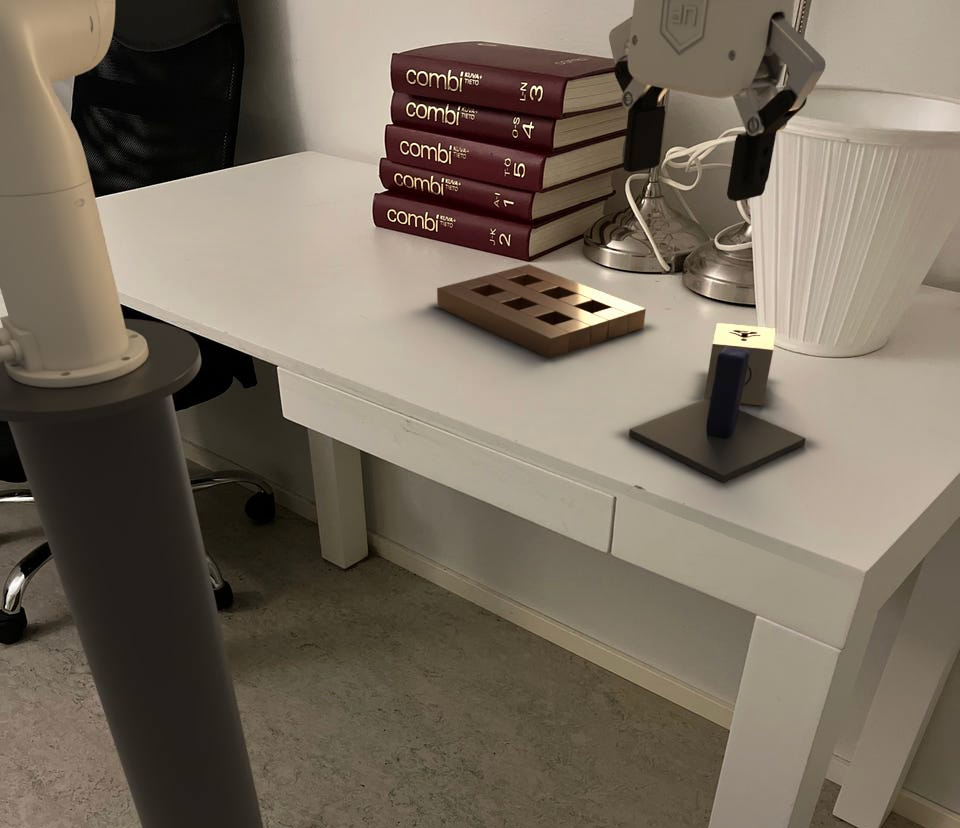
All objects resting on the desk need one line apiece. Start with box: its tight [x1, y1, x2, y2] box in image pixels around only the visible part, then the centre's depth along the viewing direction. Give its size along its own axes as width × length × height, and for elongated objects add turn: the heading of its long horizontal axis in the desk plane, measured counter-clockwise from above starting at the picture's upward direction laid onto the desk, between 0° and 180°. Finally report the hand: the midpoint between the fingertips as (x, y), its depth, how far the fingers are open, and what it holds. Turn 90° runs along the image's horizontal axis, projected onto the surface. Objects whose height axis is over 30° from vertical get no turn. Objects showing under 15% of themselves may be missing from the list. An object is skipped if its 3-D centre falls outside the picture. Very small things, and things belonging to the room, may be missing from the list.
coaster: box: [628, 397, 807, 483], centre depth 78 cm, size 10×10×1 cm
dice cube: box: [703, 322, 776, 407], centre depth 84 cm, size 5×5×5 cm
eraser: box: [706, 346, 749, 439], centre depth 76 cm, size 2×2×7 cm
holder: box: [436, 264, 646, 359], centre depth 100 cm, size 13×18×2 cm
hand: (690, 182), depth 68 cm, fingers open, 9 cm apart
